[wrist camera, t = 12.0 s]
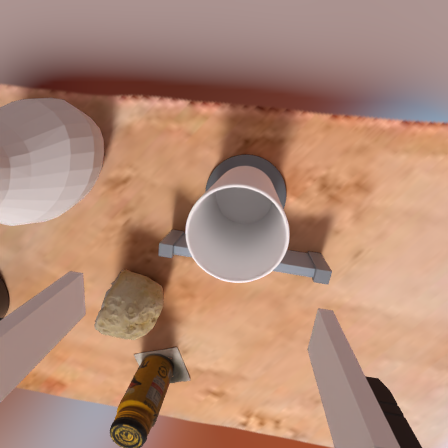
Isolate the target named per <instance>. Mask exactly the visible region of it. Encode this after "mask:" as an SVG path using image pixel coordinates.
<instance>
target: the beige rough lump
mask: <svg viewBox="0 0 448 448" xmlns="http://www.w3.org/2000/svg"><path fill="white" fill-rule="evenodd" d="M111 284H112V287H111V288H110V289H109V290H108V291H107V292H106V295H105V298H104V301H103V304H102V308H101V310H100V311H99V313H98V316H97V318H96V321H95V322H96V323H95V329H96V330H98V331H99V332H100V333H101V334H104V335H109V336H113V337H117V338H122V339H131V340H136V339H138V338H140V337H143V336H144V335H147V333H148V332H150V330H151V329H153V328H154V326H155V324H156V322H157V319H158V317H159V315H160V314H161V311H162V308H163V305H164V293H163V289H162V286H161V285H159V284H158V283H156V282H155V281H153V280H151V279H150V278H149V277H147V276H143V275H141V274H137V273H133V272H130V271H129V270H126V269H124V270H122V272H120V274H119V275H118V277H117V279H116V280H115V281H114V282H113V283H111Z"/></svg>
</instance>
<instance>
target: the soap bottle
mask: <svg viewBox="0 0 448 448" xmlns="http://www.w3.org/2000/svg"><path fill="white" fill-rule="evenodd" d="M103 157H104V139H103V136H102V133H101V130H100V128H99V127H98V126H97V125H96V123H95V122H94V121H93V120H92V118H90V117H89V116H88V115H86V114H85V113H83V112H82V111H80V110H79V109H77V108H76V107H74V106H73V105H71V104H69V103H68V102H66V101H65V100H62V99H56V98H36V99H23V100H18V101H14V102H11V103H9V104H7V105H5V106H2V107H0V223H1V224H5V225H10V226H15V225H22V224H30V223H37V222H45V221H48V220H51V219H54V218H56V217H58V216H60V215H61V214H63V213H64V212H66V211H67V210H69V209H70V208H72V207H73V206H74V205H76V204H77V203H78V202H80V201H81V200H82V199H83V198H84V197H85V196H86V195H87V194H88V193H89V192H90V191H91V189H92V188H93V186H94V184H95V183H96V181H97V179H98V177H99V174H100V171H101V168H102V165H103Z"/></svg>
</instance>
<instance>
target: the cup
mask: <svg viewBox="0 0 448 448" xmlns="http://www.w3.org/2000/svg"><path fill="white" fill-rule="evenodd" d="M185 234H186V242H187V246H188V249H189V251H190V253H191V255H192V257H193V259H194V260H195V261H196V263H197V264H198V265H199V266H200V267H201V268H202V269H203V270H204V271H206V272H207V273H208V274H210V275H212V276H213V277H216V278H218V279H220V280H224V281H228V282H235V283H243V282H250V281H254V280H257V279H260V278H262V277H264V276H266V275H267V274H269V273H270V272H271V271H273V270H274V269H275V268H276V267H277V266H278V265H279V263H280V262H281V261H282V259H283V257H284V256H285V253H286V251H287V248H288V244H289V224H288V220H287V217H286V215H285V212H284V210H283V207H282V205H281V202H280V200H279V198H278V195H277V193H276V191H275V188H274V186H273V184H272V181H271V180H270V178H269V177H268V176H267V175H266V174H265V173H264V172H263V171H261V170H259V169H257V168H255V167H251V166H238V167H235V168H232V169H230V170H229V171H227V172H226V173H225V174H223V175H222V176H221V177H220V178H219V179H218V180H217V181H216V182H215V183H214V184H213V185H212V186H211V187H210V188H209V189H208V190H207V191H206V192H205V193H204V194H203V195H202V196H201V197H200V198H199V199H198V201H197V202H196V203H195V204H194V206H193V207H192V209H191V211H190V213H189V216H188V219H187V222H186V231H185Z"/></svg>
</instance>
